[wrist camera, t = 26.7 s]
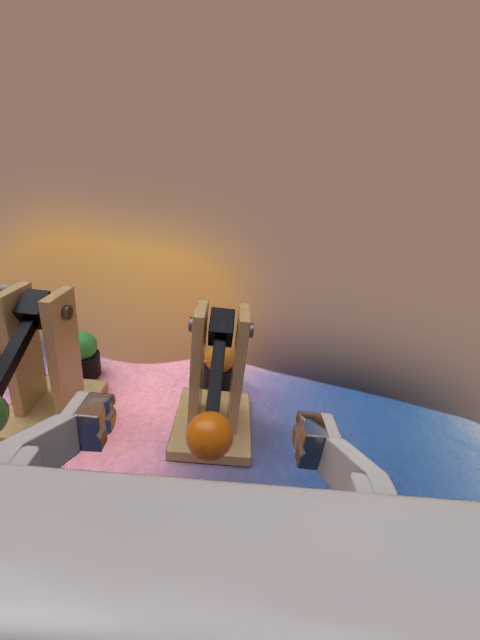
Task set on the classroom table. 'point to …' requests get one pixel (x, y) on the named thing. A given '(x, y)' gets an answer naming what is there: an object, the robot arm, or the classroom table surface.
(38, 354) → the wooden lever stand
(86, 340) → the green lamp
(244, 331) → the tan wooden upright frame
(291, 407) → the classroom table surface
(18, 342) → the green switch
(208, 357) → the amber lamp
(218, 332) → the amber switch
